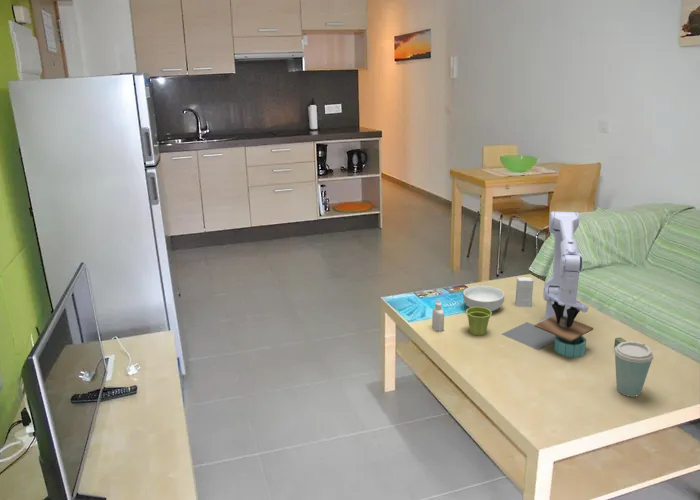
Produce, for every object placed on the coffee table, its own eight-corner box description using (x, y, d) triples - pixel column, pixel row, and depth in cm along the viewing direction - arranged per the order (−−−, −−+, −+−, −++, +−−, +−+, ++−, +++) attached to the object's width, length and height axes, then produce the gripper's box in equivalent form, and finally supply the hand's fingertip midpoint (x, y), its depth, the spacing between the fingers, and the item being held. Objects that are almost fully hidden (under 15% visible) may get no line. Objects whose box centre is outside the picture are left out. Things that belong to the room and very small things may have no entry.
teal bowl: (564, 341, 199) (565, 329, 197) (590, 352, 191) (591, 339, 190) (548, 350, 193) (549, 337, 191) (574, 361, 185) (576, 348, 184)
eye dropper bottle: (443, 325, 213) (444, 297, 210) (443, 332, 208) (444, 303, 204) (432, 325, 214) (432, 296, 210) (432, 331, 209) (433, 302, 205)
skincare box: (529, 303, 231) (531, 277, 228) (531, 307, 227) (533, 280, 224) (514, 303, 232) (516, 276, 228) (516, 307, 228) (518, 280, 224)
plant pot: (462, 336, 205) (463, 315, 202) (467, 325, 213) (468, 305, 210) (488, 340, 201) (489, 318, 199) (492, 329, 210) (493, 308, 207)
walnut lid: (557, 315, 201) (558, 306, 200) (593, 329, 190) (594, 319, 189) (534, 326, 193) (535, 316, 192) (570, 341, 182) (572, 331, 181)
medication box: (613, 348, 194) (614, 338, 193) (619, 347, 195) (621, 336, 193) (637, 365, 183) (638, 354, 182) (644, 363, 183) (645, 353, 182)
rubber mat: (526, 322, 214) (526, 322, 214) (563, 337, 202) (564, 336, 202) (501, 335, 205) (501, 334, 205) (538, 351, 193) (538, 350, 193)
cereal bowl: (461, 299, 237) (462, 284, 235) (500, 300, 235) (501, 285, 233) (463, 316, 221) (464, 300, 219) (506, 317, 219) (507, 301, 217)
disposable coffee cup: (629, 404, 161) (636, 359, 157) (600, 386, 171) (606, 343, 166) (655, 395, 165) (662, 351, 161) (625, 378, 175) (631, 336, 170)
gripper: (542, 285, 190) (539, 320, 194) (581, 297, 179) (577, 335, 183) (554, 280, 194) (551, 315, 198) (593, 292, 183) (588, 329, 187)
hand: (564, 324), depth 191 cm, fingers closed on walnut lid, 3 cm apart
